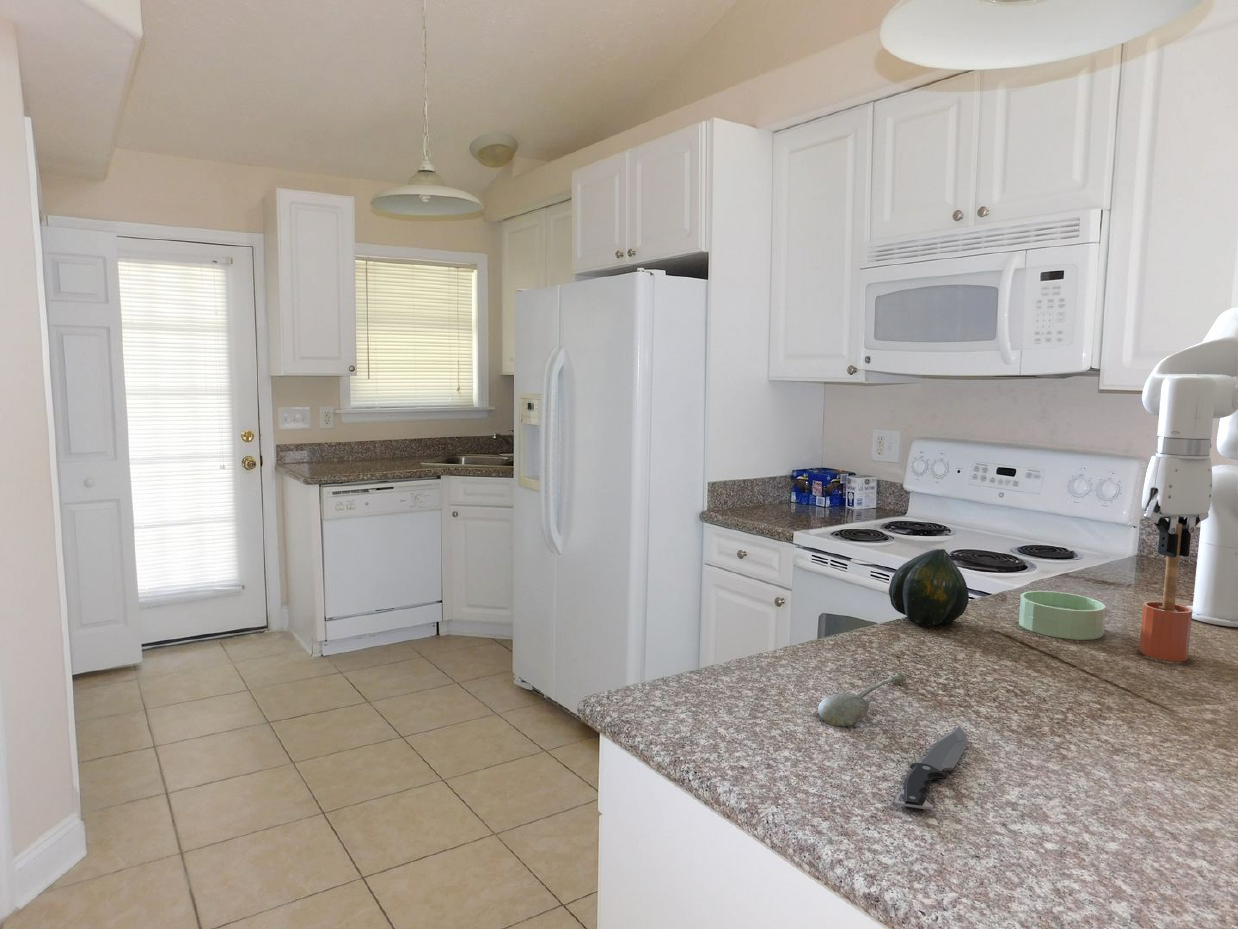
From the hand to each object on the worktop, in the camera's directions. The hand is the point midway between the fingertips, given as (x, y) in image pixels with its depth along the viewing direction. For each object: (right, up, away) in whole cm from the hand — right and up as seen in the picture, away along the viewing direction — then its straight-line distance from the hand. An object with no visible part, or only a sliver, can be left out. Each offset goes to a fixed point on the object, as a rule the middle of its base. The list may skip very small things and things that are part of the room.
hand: (1173, 554), depth 139 cm
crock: (-1, -18, +2) cm, 18 cm away
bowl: (-11, -16, +16) cm, 25 cm away
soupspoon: (-59, -19, -22) cm, 66 cm away
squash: (-35, -16, +21) cm, 43 cm away
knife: (-57, -21, -41) cm, 73 cm away
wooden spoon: (0, -12, +1) cm, 13 cm away
